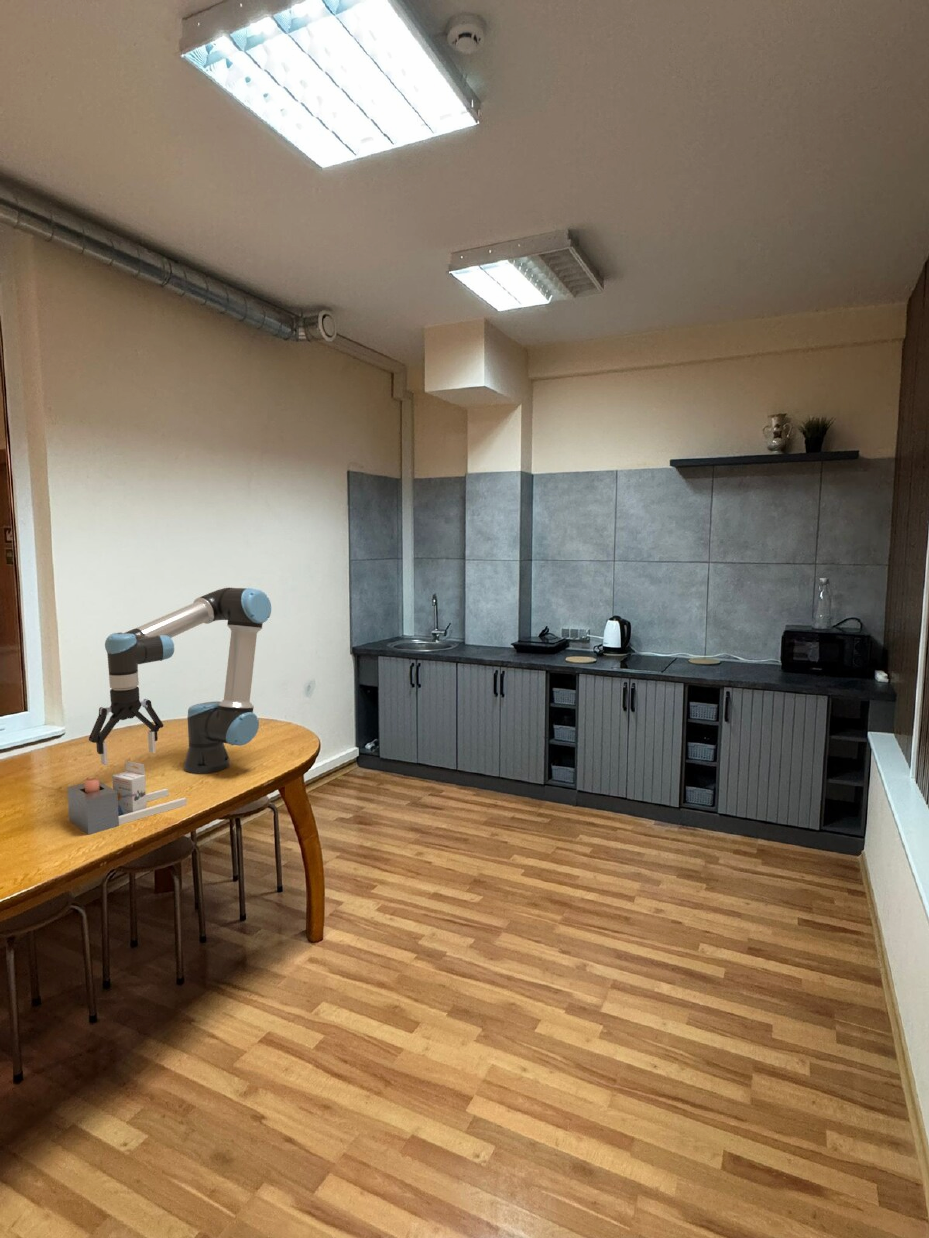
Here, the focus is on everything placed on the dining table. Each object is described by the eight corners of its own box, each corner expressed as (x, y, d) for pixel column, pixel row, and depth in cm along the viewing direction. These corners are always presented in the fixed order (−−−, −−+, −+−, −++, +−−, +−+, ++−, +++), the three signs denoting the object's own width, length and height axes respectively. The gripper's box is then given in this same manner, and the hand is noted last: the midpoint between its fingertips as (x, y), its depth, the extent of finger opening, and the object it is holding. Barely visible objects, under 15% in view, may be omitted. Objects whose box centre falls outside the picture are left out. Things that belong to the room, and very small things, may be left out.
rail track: (166, 794, 212) (166, 788, 212) (186, 804, 204) (186, 798, 203) (99, 812, 197) (99, 806, 197) (118, 825, 189) (117, 818, 188)
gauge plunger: (96, 794, 191) (96, 777, 191) (102, 797, 189) (101, 780, 189) (83, 797, 189) (82, 780, 188) (88, 801, 186) (87, 783, 186)
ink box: (112, 813, 197) (110, 765, 195) (127, 807, 201) (125, 760, 200) (133, 818, 193) (131, 769, 192) (147, 812, 198) (145, 764, 196)
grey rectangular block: (99, 812, 197) (97, 779, 196) (118, 825, 188) (117, 791, 187) (69, 820, 191) (67, 786, 190) (88, 834, 182) (86, 799, 181)
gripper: (161, 678, 205) (165, 745, 208) (72, 693, 186) (77, 766, 189) (172, 682, 200) (176, 750, 203) (82, 697, 181) (88, 772, 184)
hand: (129, 758), depth 196 cm, fingers open, 13 cm apart
